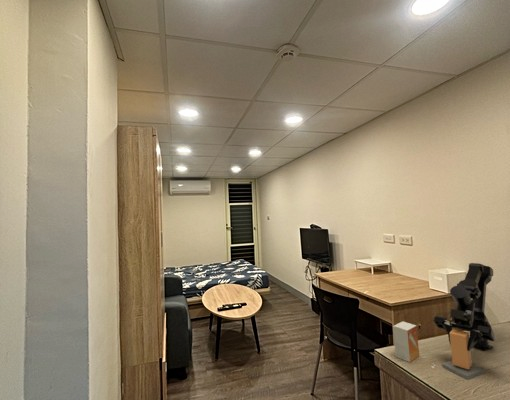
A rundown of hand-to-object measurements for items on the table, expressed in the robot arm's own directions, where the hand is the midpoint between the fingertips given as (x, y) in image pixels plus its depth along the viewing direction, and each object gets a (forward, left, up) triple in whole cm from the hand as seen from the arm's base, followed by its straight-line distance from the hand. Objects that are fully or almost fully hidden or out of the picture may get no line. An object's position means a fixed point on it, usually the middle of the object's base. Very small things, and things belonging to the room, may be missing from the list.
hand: (459, 348), depth 103 cm
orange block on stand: (-1, 0, -7) cm, 7 cm away
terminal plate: (-1, 0, -9) cm, 9 cm away
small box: (+9, -16, -9) cm, 21 cm away
